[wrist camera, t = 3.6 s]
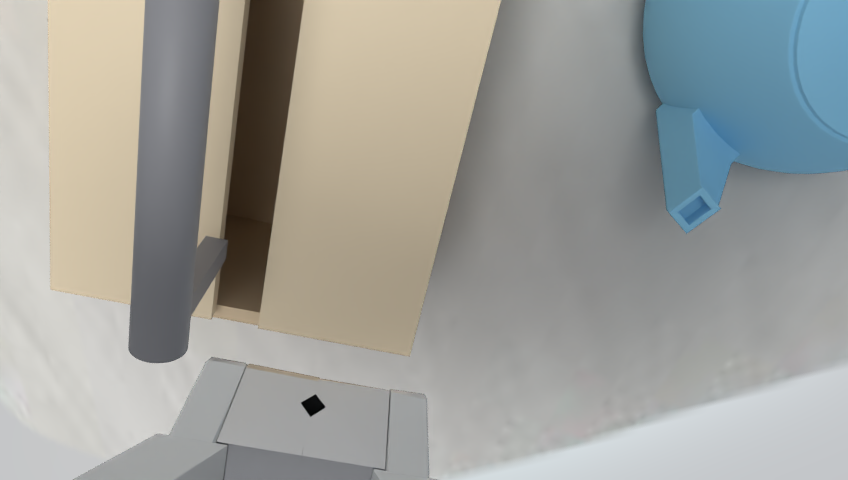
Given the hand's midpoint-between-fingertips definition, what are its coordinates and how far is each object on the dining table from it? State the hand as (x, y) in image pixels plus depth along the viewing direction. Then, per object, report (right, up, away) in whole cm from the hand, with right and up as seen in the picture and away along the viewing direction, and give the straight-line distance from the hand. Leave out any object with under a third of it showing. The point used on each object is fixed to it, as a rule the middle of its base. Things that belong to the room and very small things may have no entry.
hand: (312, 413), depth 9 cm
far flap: (-7, +8, +13) cm, 17 cm away
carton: (-4, +11, +22) cm, 25 cm away
